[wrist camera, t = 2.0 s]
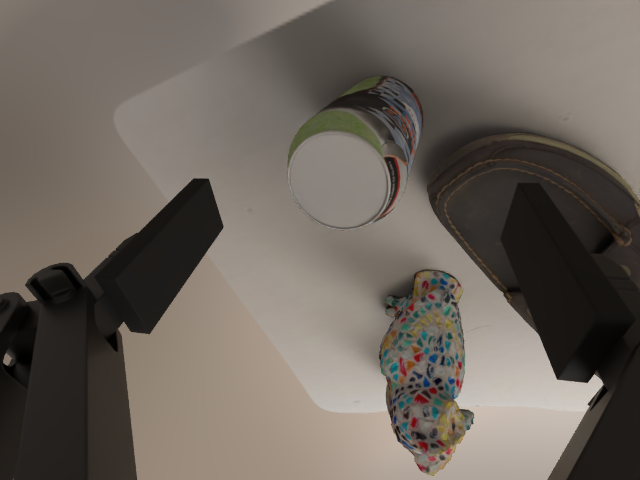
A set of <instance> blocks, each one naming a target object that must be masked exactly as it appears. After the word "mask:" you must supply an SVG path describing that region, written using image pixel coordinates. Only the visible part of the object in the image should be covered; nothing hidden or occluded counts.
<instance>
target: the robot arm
mask: <svg viewBox="0 0 640 480" xmlns="http://www.w3.org/2000/svg"><path fill="white" fill-rule="evenodd" d="M223 228H224V227H223V223H222V220H221V217H220V214H219V210H218V207H217V204H216V201H215V198H214V194H213V191H212V188H211V185H210V181H209V179H193V180H192V181H191V182H190V183H189V184H188V185H187V186H186V187H185V188H183V189H182V190H181V191H180V192H179V193H178V194H177V195H176V196H175V197H174V198H173V199H172V200H171V201H170V202H169V203H168V204H167V205H166V206H165V207H164V208H163V209H162V210H161V211H160V212H159V213H158V214H157V215H156V216H155V217H154V218H153V219H152V220H151V221H150V222H149V223H148V224H147V225H146V226H145V227H144V228H143V229H142V230H141V231H140V232H139V233H136V234H134V235H133V236H131V237H129V238H128V239H126V240H124V241H123V242H122V243H121V244H120V245H119V246H118V247H117V248H116V251H113V252H112V253H111V254H110V255H109V257H108V258H106V259H105V260H104V261H103V262H102V263H101V264H100V265H98V266H97V267H96V268H95V269H94V270H93V271H92V272H91V273H90V274H89V275H88V276H87V277H86V278H85V279H84V280H83V279H82V278H81V276H80V275H79V274H78V272H77V271H76V269H75V268H74V266H73V265H72V264H69V263H59V264H54V265H51V266H48V267H47V268H44V269H42V270H40V271H39V272H37V273H35V274H34V275H33V276H32V277H31V278H30V279H28V281H27V283H26V285H25V286H26V287H27V288H28V289H29V290H30V292H31V293H32V294H33V295H34V296H35V297H36V298H37V300H36V301H30V302H26V301H25V300H24V299H23V298H22V297H21V295H20V294H19V293H14V292H10V293H4V294H1V295H0V480H13V478H14V480H137V475H136V465H135V456H134V446H133V437H132V429H131V418H130V409H129V400H128V391H127V381H126V372H125V363H124V354H123V345H122V336H121V333H120V332H119V330H118V328H119V327H120V325H121V324H122V323H123V322H125V324H126V325H127V327H128V328H129V330H130V331H131V332H137V333H145V334H150V333H151V331H152V330H153V328H154V327H155V326H156V324H157V323H158V321H159V320H160V318H161V317H162V315H163V314H164V313H165V311H166V310H167V308H168V307H169V305H170V304H171V302H172V301H173V300H174V298H175V297H176V295H177V294H178V292H179V291H180V290H181V288H182V286H183V285H184V284H185V282H186V281H187V279H188V278H189V277H190V275H191V274H192V272H193V271H194V269H195V268H196V266H197V265H198V264H199V262H200V261H201V259H202V257H203V256H204V255H205V253H206V252H207V251H208V249H209V248H210V246H211V245H212V243H213V242H214V240H215V239H216V238H217V236H218V235H219V233H220V232H221V230H222V229H223ZM500 239H501V242H502V244H503V247H504V249H505V252H506V254H507V257H508V259H509V262H510V264H511V267H512V269H513V272H514V274H515V277H516V279H517V282H518V284H519V286H520V289H521V291H522V294H523V296H524V299H525V301H526V304H527V306H528V309H529V311H530V314H531V316H532V319H533V321H534V324H535V326H536V329H537V331H538V333H539V336H540V338H541V341H542V343H543V346H544V348H545V351H546V353H547V356H548V358H549V361H550V363H551V366H552V368H553V371H554V373H555V375H556V378H557V380H566V381H575V382H584V383H588V382H589V380H590V379H591V378H592V376H593V375H594V374H595V372H596V371H597V372H598V374H599V376H600V378H601V380H602V382H603V384H604V385H603V386H602V387H601V389H600V390H599V391H598V392H597V393H596V395H595V396H594V397H593V398H592V399H591V401H590V402H589V403H588V405H589V406H590V407H589V409H588V410H587V412H586V414H585V415H584V417H583V419H582V421H581V422H580V424H579V426H578V428H577V430H576V431H575V433H574V434H573V436H572V438H571V440H570V442H569V443H568V445H567V447H566V448H565V450H564V452H563V454H562V455H561V457H560V459H559V460H558V462H557V464H556V466H555V467H554V469H553V471H552V473H551V475H550V476H549V478H548V480H640V291H639V288H638V286H637V285H636V284H635V283H634V281H631V278H630V276H629V275H628V274H627V273H626V271H625V270H624V269H623V267H622V266H621V265H619V264H618V263H617V262H615V261H614V260H612V259H611V258H609V257H608V256H607V255H605V254H590V253H589V252H588V250H587V249H586V248H585V246H584V245H583V243H582V242H581V240H580V239H579V238H578V236H577V235H576V233H575V232H574V231H573V229H572V228H571V226H570V225H569V224H568V222H567V221H566V219H565V218H564V217H563V215H562V214H561V212H560V211H559V209H558V208H557V207H556V205H555V204H554V202H553V201H552V200H551V198H550V197H549V195H548V194H547V193H546V191H545V190H544V188H543V187H542V186H541V184H540V183H518V184H517V187H516V190H515V193H514V197H513V200H512V203H511V206H510V209H509V213H508V216H507V219H506V222H505V225H504V228H503V232H502V235H501V238H500ZM6 353H7V354H8V355H9V356H10V357H11V358H12V360H11V362H10V364H9V365H8V366H7V365H5V364H4V363H3V359H4V355H5V354H6Z"/></svg>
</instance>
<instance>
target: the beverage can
mask: <svg viewBox="0 0 640 480" xmlns="http://www.w3.org/2000/svg"><path fill="white" fill-rule="evenodd" d="M422 127H423V111H422V107H421V104H420V102H419V99H418V97H417V96H416V94H415V93H414V91H413V90H412V89H411V88H410V87H409V86H408V85H407V84H405V83H403V82H402V81H400V80H398V79H395V78H393V77H387V76H375V77H370V78H367V79H365V80H362V81H360V82H359V83H357V84H356V85H354V86H353V87H352V88H350V89H349V90H348V91H346V92H345V93H344V94H342V95H341V96H340V97H338V98H337V99H336V100H335V101H333V102H332V103H331V104H329V105H328V106H327V107H325V108H324V109H323V110H321V111H320V112H319V113H317V114H316V115H315V116H313V117H312V118H311V119H309V120H308V121H307V122H306V123H305V124H304V125H303V126H302V127H301V128H300V129H299V131H298V132H297V134H296V135H295V137H294V139H293V141H292V144H291V146H290V150H289V155H288V185H289V188H290V192H291V194H292V196H293V199H294V201H295V202H296V204H297V205H298V207H299V208H300V209H301V210H302V211H303V212H304V214H306V215H307V216H308V217H309V218H310V219H312V220H313V221H315V222H316V223H318V224H320V225H322V226H325V227H327V228H331V229H335V230H354V229H359V228H361V227H364V226H366V225H368V224H371V223H373V222H376V221H378V220H380V219H381V218H383V217H385V216H386V215H387V214H388V213H389V212H390V211H392V210H393V209H394V207H395V206H396V205H397V203H398V202H399V201H400V199H401V197H402V195H403V193H404V190H405V186H406V183H407V180H408V176H409V173H410V169H411V166H412V162H413V159H414V155H415V152H416V148H417V145H418V142H419V138H420V135H421V131H422Z"/></svg>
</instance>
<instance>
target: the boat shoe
mask: <svg viewBox="0 0 640 480" xmlns="http://www.w3.org/2000/svg"><path fill="white" fill-rule="evenodd" d="M518 183H540V184H541V186H542V187H543V188H544V190H545V191H546V193H547V194H548V195H549V197H550V198H551V200H552V201H553V202H554V204H555V205H556V207H557V208H558V209H559V211H560V212H561V214H562V215H563V217H564V218H565V219H566V221H567V222H568V224H569V225H570V226H571V228H572V229H573V231H574V232H575V233H576V235H577V236H578V238H579V239H580V240H581V242H582V243H583V245H584V246H585V248H586V249H587V250H588V252H589V253H590V254H605V255H607V256H608V257H609V258H611V259H612V260H614V261H615V262H617V263H618V264H619V265H621V266H622V267H623V269H624V270H625V271H626V273H627V274H628V275H629V276H630V278H631V281H634V283H635V284H636V285H637V286H638V288H639V291H640V201H639V199H638V197H637V196H636V194H635V193H634V191H633V190H632V188H631V187H630V186H629V184H628V183H627V182H626V181H625V180H624V179H623V178H622V177H621V176H620V175H619V174H618V173H617V172H616V171H614V170H613V169H612V168H610V167H609V166H607V165H606V164H604V163H603V162H601V161H600V160H598V159H597V158H595V157H593V156H592V155H590V154H588V153H586V152H584V151H582V150H580V149H578V148H576V147H574V146H571V145H569V144H566V143H563V142H560V141H557V140H554V139H550V138H546V137H542V136H538V135H531V134H523V133H507V134H498V135H492V136H487V137H484V138H480V139H478V140H475V141H473V142H471V143H468V144H467V145H465V146H463V147H461V148H460V149H458V150H457V151H455V152H454V153H452V154H451V155H450V156H448V157H447V158H446V159H445V160H444V161H443V162H442V163H441V164H440V165H439V166H438V167H437V168H436V169H435V170H434V172H433V173H432V175H431V177H430V179H429V182H428V186H427V191H428V195H429V201H430V204H431V207H432V209H433V211H434V213H435V214H436V216H437V217H438V219H439V221H440V222H441V223H442V225H443V226H444V227H445V228H446V229H447V231H448V232H449V233H450V234H451V235H452V236H453V237H454V238H455V240H456V241H457V242H458V243H459V244H460V246H461V247H462V248H463V249H464V250H465V252H466V253H467V254H468V255H469V256H470V258H471V259H472V260H473V261H474V262H475V263H476V264H477V265H478V267H479V268H480V269H481V270H482V271H483V272H484V273H485V275H486V276H487V277H488V278H489V279H490V280H491V281H492V283H493V284H494V285H495V286H496V287H497V288H498V289H499V290H500V291H502V292H503V293H504V297H505V298H506V299H507V302H508V303H509V304H510V305H511V306H512V307H513V308H514V309H515V310H516V311H517V312H518V313H519V315H520V316H521V317H522V318H523V319H524V320H525V321H526V322H527V323H528V324H529V325H530V326H531V327H532V328H533V329H534V330H535V331H536V332H537V333H538V331H537V329H536V326H535V324H534V321H533V319H532V316H531V314H530V311H529V309H528V306H527V304H526V301H525V299H524V296H523V294H522V291H521V289H520V286H519V284H518V282H517V279H516V277H515V274H514V272H513V269H512V267H511V264H510V262H509V259H508V257H507V254H506V252H505V249H504V247H503V244H502V242H501V239H500V238H501V235H502V232H503V228H504V225H505V222H506V219H507V216H508V213H509V209H510V206H511V203H512V200H513V197H514V193H515V190H516V187H517V184H518ZM538 334H539V333H538ZM595 375H597V376H598V377H599V378H600V376H599V374H598V372H597V371H596V372H595ZM600 379H601V378H600Z"/></svg>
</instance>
